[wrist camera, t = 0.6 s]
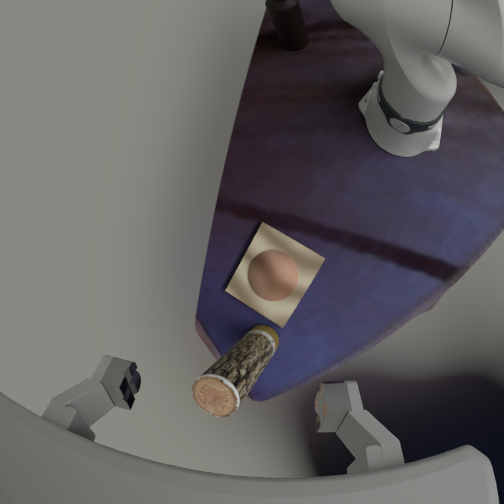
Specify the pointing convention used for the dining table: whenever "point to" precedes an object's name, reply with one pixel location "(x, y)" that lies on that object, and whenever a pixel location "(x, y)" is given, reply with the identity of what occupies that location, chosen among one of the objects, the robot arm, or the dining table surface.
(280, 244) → the holder board
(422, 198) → the dining table surface
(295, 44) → the bottle
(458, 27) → the robot arm
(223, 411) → the bark print tube
